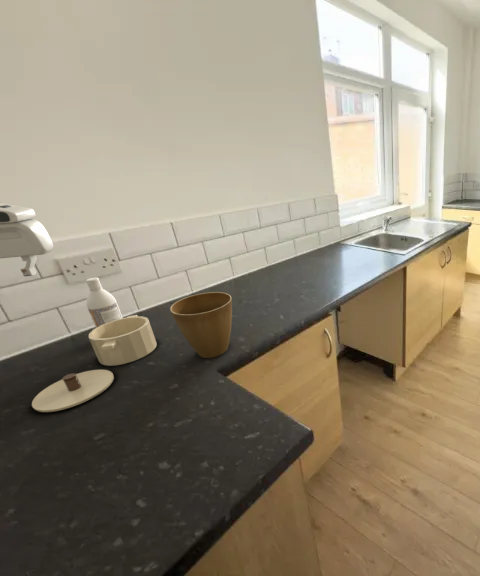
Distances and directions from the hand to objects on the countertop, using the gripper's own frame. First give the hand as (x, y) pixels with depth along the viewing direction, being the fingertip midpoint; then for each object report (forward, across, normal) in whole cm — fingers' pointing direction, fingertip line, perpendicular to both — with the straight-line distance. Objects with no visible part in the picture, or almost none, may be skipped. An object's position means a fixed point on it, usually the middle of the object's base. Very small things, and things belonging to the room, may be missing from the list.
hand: (3, 278), depth 70 cm
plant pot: (+29, +36, +2) cm, 46 cm away
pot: (+29, +12, +11) cm, 33 cm away
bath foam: (+29, +4, +24) cm, 38 cm away
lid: (+28, +6, -5) cm, 29 cm away
